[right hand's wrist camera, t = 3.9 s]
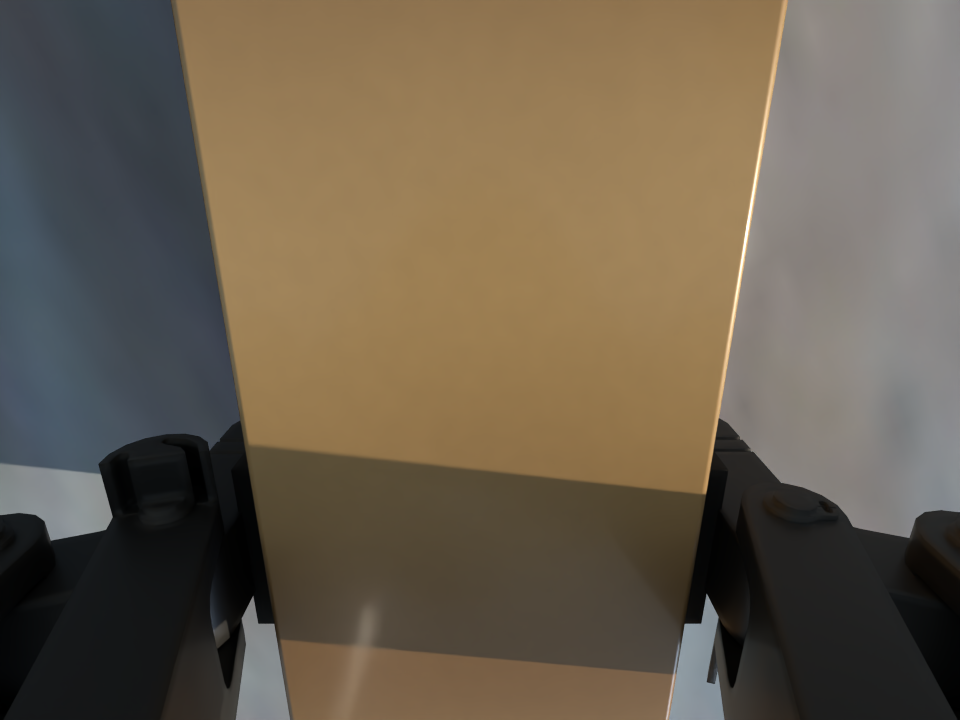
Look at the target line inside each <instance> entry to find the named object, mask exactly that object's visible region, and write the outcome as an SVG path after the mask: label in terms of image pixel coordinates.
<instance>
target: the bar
mask: <svg viewBox="0 0 960 720" xmlns="http://www.w3.org/2000/svg"><path fill="white" fill-rule="evenodd" d="M787 2H788V0H171V5H172V11H173V17H174V23H175V29H176V35H177V41H178V47H179V53H180V59H181V65H182V71H183V77H184V83H185V89H186V95H187V101H188V107H189V113H190V119H191V125H192V131H193V137H194V143H195V149H196V155H197V161H198V167H199V173H200V179H201V185H202V191H203V197H204V204H205V210H206V216H207V222H208V228H209V234H210V240H211V246H212V252H213V258H214V264H215V270H216V276H217V282H218V288H219V294H220V300H221V306H222V312H223V318H224V324H225V330H226V336H227V342H228V348H229V354H230V360H231V366H232V372H233V378H234V384H235V390H236V396H237V402H238V408H239V414H240V420H241V426H242V432H243V438H244V444H245V450H246V456H247V462H248V468H249V474H250V480H251V486H252V492H253V498H254V504H255V510H256V516H257V522H258V528H259V534H260V540H261V546H262V552H263V558H264V564H265V570H266V576H267V582H268V588H269V594H270V600H271V606H272V612H273V618H274V624H275V630H276V636H277V642H278V648H279V654H280V660H281V666H282V672H283V678H284V684H285V690H286V696H287V703H288V709H289V715H290V720H669V715H670V709H671V703H672V697H673V691H674V685H675V679H676V673H677V667H678V661H679V655H680V649H681V643H682V637H683V631H684V624H685V618H686V612H687V606H688V600H689V594H690V588H691V582H692V576H693V570H694V564H695V558H696V552H697V546H698V540H699V534H700V528H701V522H702V516H703V510H704V504H705V498H706V492H707V486H708V480H709V473H710V467H711V461H712V455H713V449H714V443H715V437H716V431H717V425H718V419H719V413H720V407H721V401H722V395H723V389H724V383H725V377H726V371H727V365H728V359H729V353H730V347H731V341H732V335H733V329H734V322H735V316H736V310H737V304H738V298H739V292H740V286H741V280H742V274H743V268H744V262H745V256H746V250H747V244H748V238H749V232H750V226H751V220H752V214H753V208H754V202H755V196H756V190H757V184H758V178H759V172H760V165H761V159H762V153H763V147H764V141H765V135H766V129H767V123H768V117H769V111H770V105H771V99H772V93H773V87H774V81H775V75H776V69H777V63H778V57H779V51H780V45H781V39H782V33H783V27H784V21H785V14H786V8H787Z"/></svg>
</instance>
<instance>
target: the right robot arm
mask: <svg viewBox="0 0 960 720" xmlns="http://www.w3.org/2000/svg"><path fill="white" fill-rule="evenodd" d="M99 468H100V472H101V475H102V479H103V483H104V486H105V490H106V494H107V497H108V501H109V505H110V508H111V512H112V516H113V518H112V520H111V522H110V524H109V526H108V527H107V529H106V530H104V531H100V532H95V533H90V534H84V535H79V536H74V537H68V538H63V539H58V540H53V541H51V540H50V537H49V534H48V531H47V528H46V525H45V522H44V521H43V520H42V519H40V518H39V517H38V516H36V515H31V514H23V513H16V514H7V515H0V720H236V713H237V705H238V698H239V691H240V683H241V676H242V669H243V661H244V654H245V647H246V642H245V635H244V629H243V624H242V617H243V615H244V613H245V611H246V609H247V607H248V605H249V603H250V601H251V599H252V597H253V596H254V602H255V607H256V613H257V618H258V624H274V618H273V612H272V606H271V600H270V594H269V588H268V582H267V576H266V570H265V564H264V558H263V552H262V546H261V540H260V534H259V528H258V522H257V516H256V510H255V504H254V498H253V492H252V486H251V480H250V474H249V468H248V462H247V456H246V450H245V444H244V438H243V432H242V426H241V421H239V422H237V423H235V424H234V425H232V426H231V427H230V428H229V430H228V431H227V432H226V433H225V434H224V435H223V436H222V437H221V439H220V442H217V443H216V444H215V445H214V446H213V448H212V449H211V450H210V452H209V447H208V442H207V441H205V440H204V439H202V438H201V437H199V436H194V435H189V434H166V435H160V436H155V437H150V438H145V439H142V440H139V441H136V442H133V443H130V444H128V445H125V446H123V447H121V448H119V449H118V450H116V451H114V452H112V453H110V454H109V455H108V456H107V457H105V458H104V459H103V460H102V461H101V462H100V463H99ZM706 594H707V595H708V597H709V599H710V601H711V603H712V605H713V606H714V608H715V610H716V612H717V614H718V616H719V618H718V624H717V629H716V634H715V639H714V644H713V650H712V655H711V660H710V665H709V671H708V678H707V682H708V683H713V684H715V680H716V675H717V672H718V675H719V682H720V689H721V697H722V704H723V711H724V719H725V720H960V512H951V511H943V510H940V511H931V512H924V513H923V514H922V515H920V516H919V517H917V518H916V520H915V523H914V526H913V529H912V532H911V535H910V538H906V537H900V536H895V535H890V534H884V533H879V532H874V531H868V530H863V529H859V528H855V527H853V526H852V525H851V523H850V521H849V519H848V517H847V516H846V515H845V514H844V512H843V511H842V510H841V509H840V508H839V507H838V506H837V505H836V504H834V503H833V502H831V501H830V500H828V499H827V498H825V497H824V496H822V495H820V494H817V493H815V492H812V491H810V490H807V489H805V488H802V487H798V486H793V485H789V484H784V483H781V482H780V481H779V480H778V479H777V478H776V477H775V476H774V475H773V473H772V472H771V471H770V470H769V469H768V468H767V467H766V466H765V464H764V463H763V462H762V461H761V460H760V459H759V458H758V457H757V456H756V454H755V453H754V452H751V451H750V448H749V447H748V445H747V444H746V443H745V442H744V441H743V440H740V437H739V435H738V434H737V433H736V432H735V431H734V430H733V429H732V428H731V427H730V425H729V424H728V423H726V422H725V421H723V420H721V419H718V425H717V431H716V437H715V443H714V449H713V455H712V461H711V467H710V473H709V480H708V486H707V492H706V498H705V504H704V510H703V516H702V522H701V528H700V534H699V540H698V546H697V552H696V558H695V564H694V570H693V576H692V582H691V588H690V594H689V600H688V606H687V612H686V618H685V624H701V622H702V616H703V610H704V605H705V599H706Z"/></svg>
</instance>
